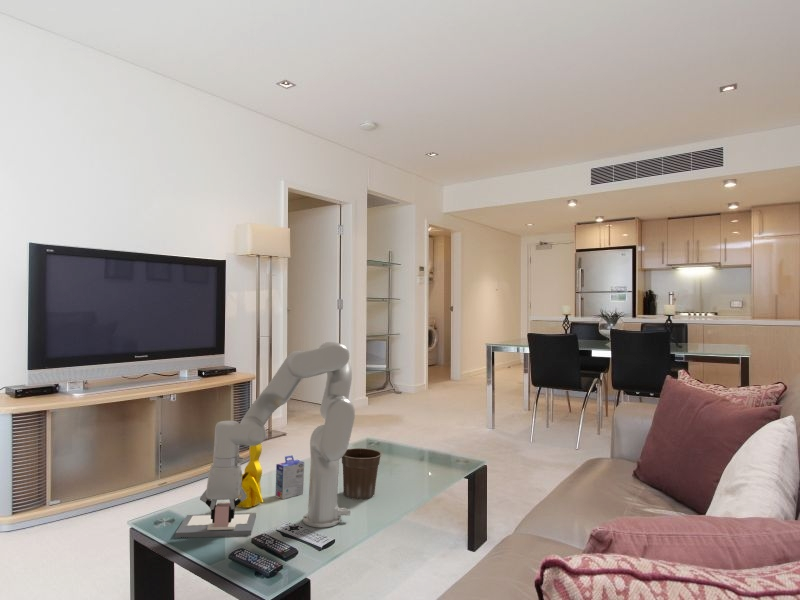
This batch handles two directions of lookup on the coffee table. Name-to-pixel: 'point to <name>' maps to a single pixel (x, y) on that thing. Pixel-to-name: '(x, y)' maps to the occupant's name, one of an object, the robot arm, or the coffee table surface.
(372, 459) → the plant pot
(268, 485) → the coffee table surface
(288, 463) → the ink cartridge box
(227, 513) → the stub
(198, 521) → the board
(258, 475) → the figure statuette
